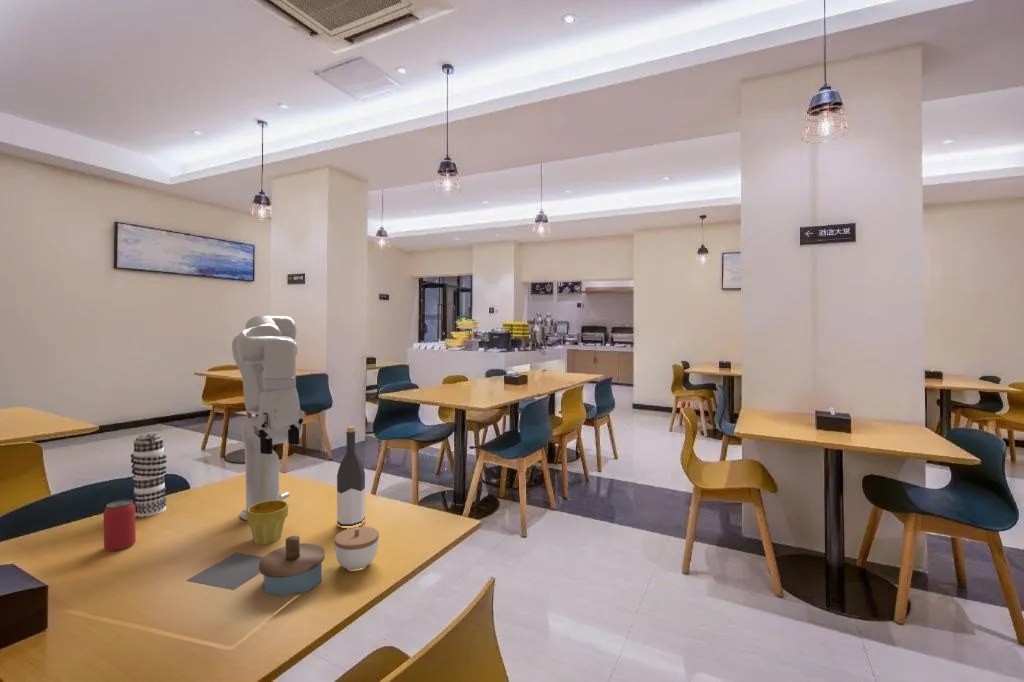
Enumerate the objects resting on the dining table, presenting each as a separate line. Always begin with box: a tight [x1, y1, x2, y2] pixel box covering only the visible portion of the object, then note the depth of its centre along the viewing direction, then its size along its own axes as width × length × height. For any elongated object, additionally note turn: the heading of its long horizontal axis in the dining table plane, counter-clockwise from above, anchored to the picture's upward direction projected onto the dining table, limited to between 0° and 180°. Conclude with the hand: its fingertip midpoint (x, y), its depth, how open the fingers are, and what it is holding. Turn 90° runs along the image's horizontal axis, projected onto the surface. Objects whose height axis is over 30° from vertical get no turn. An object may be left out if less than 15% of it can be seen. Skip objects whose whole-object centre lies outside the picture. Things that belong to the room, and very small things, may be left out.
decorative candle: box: [130, 433, 167, 518], centre depth 150 cm, size 9×9×25 cm
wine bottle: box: [336, 425, 366, 526], centre depth 141 cm, size 8×8×30 cm
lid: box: [259, 535, 326, 578], centre depth 109 cm, size 14×14×6 cm
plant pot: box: [246, 500, 289, 545], centre depth 130 cm, size 10×10×10 cm
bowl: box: [263, 563, 323, 597], centre depth 109 cm, size 12×12×5 cm
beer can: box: [102, 499, 137, 552], centre depth 126 cm, size 7×7×12 cm
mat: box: [186, 552, 264, 591], centre depth 114 cm, size 14×14×1 cm
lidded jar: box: [334, 526, 380, 570], centre depth 117 cm, size 11×11×9 cm
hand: (280, 448), depth 122 cm, fingers open, 9 cm apart
